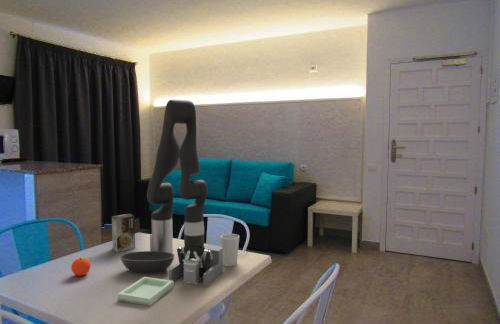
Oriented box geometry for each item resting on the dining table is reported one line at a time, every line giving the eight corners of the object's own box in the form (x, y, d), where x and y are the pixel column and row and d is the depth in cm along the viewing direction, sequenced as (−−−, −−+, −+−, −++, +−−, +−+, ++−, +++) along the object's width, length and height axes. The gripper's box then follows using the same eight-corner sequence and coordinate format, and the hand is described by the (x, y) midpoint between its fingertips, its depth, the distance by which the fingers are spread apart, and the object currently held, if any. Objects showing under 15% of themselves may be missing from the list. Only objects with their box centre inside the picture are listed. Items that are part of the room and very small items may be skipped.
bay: (168, 282, 141) (168, 256, 140) (188, 267, 156) (188, 244, 155) (206, 287, 136) (206, 261, 135) (222, 272, 151) (222, 247, 150)
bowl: (171, 276, 146) (171, 261, 146) (115, 276, 147) (115, 260, 146) (177, 265, 158) (177, 251, 158) (126, 265, 159) (125, 250, 158)
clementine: (85, 269, 153) (85, 252, 152) (96, 273, 149) (96, 255, 149) (67, 276, 146) (67, 258, 146) (78, 279, 143) (78, 261, 142)
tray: (117, 300, 125) (117, 293, 125) (144, 282, 140) (144, 276, 140) (150, 305, 122) (149, 298, 121) (173, 287, 136) (173, 280, 136)
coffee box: (130, 245, 186) (129, 213, 185) (135, 248, 181) (134, 215, 180) (112, 248, 180) (111, 215, 179) (116, 252, 175) (116, 218, 174)
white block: (183, 282, 140) (182, 263, 140) (193, 274, 148) (193, 256, 148) (195, 284, 139) (194, 265, 138) (204, 276, 147) (204, 257, 146)
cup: (240, 260, 164) (240, 234, 163) (237, 267, 156) (237, 239, 155) (222, 260, 165) (222, 233, 164) (219, 266, 157) (219, 238, 156)
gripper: (172, 233, 141) (173, 276, 142) (207, 236, 137) (207, 281, 138) (181, 228, 148) (182, 269, 150) (215, 231, 144) (215, 274, 145)
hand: (194, 275), depth 144 cm, fingers open, 5 cm apart
